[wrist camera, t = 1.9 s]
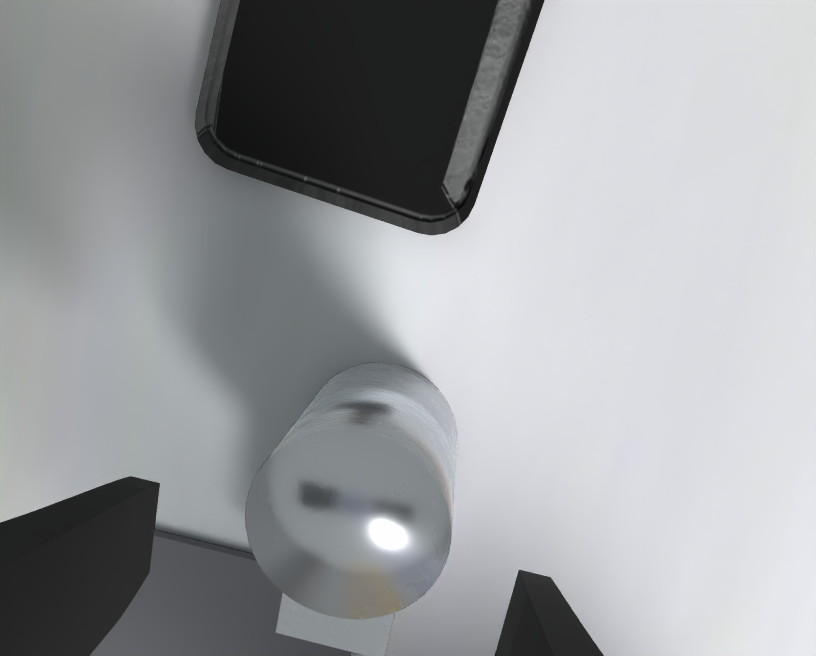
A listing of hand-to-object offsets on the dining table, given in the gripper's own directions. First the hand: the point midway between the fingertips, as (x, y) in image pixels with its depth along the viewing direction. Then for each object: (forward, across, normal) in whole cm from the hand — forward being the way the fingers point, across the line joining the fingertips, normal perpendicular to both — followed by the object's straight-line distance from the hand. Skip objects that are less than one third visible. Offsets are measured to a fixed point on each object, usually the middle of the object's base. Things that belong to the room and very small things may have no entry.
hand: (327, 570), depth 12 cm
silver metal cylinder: (+7, 0, +1) cm, 7 cm away
